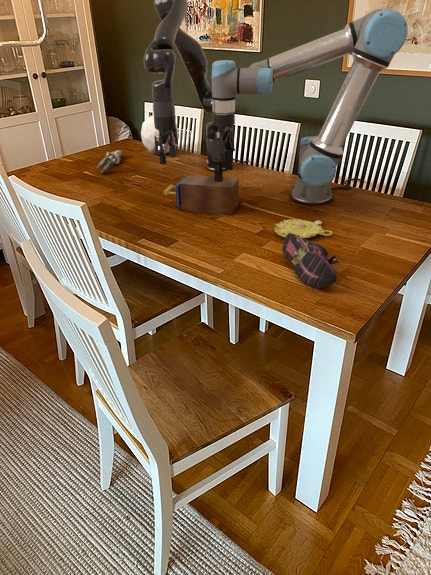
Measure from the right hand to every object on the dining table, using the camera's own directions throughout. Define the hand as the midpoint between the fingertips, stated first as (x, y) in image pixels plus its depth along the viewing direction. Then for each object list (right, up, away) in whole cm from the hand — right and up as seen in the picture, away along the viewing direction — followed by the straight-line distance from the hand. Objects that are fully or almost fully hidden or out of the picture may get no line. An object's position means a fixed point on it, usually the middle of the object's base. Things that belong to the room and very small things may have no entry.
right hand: (223, 175), depth 158 cm
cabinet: (-5, -10, +8) cm, 14 cm away
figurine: (-54, +19, +56) cm, 80 cm away
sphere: (-31, +30, +72) cm, 84 cm away
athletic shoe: (+25, -36, -34) cm, 55 cm away
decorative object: (+25, -22, -12) cm, 36 cm away
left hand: (-20, +6, +4) cm, 22 cm away
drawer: (-10, -8, +9) cm, 16 cm away
